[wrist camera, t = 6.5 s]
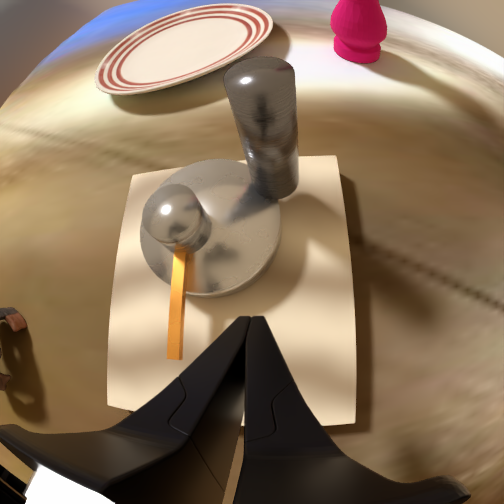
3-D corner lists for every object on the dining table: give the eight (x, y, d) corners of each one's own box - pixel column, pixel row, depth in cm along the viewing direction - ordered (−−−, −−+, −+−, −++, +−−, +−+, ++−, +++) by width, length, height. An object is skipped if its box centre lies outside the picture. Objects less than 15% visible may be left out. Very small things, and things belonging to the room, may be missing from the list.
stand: (349, 416, 17) (355, 423, 15) (121, 402, 20) (106, 405, 18) (333, 169, 24) (336, 154, 22) (142, 186, 27) (132, 174, 25)
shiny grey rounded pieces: (354, 266, 19) (408, 173, 9) (185, 363, 18) (74, 366, 8) (262, 143, 23) (239, 30, 13) (126, 221, 23) (41, 145, 13)
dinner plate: (149, 26, 42) (144, 14, 39) (286, 12, 36) (284, -4, 33) (74, 120, 34) (63, 106, 31) (252, 107, 28) (246, 84, 25)
